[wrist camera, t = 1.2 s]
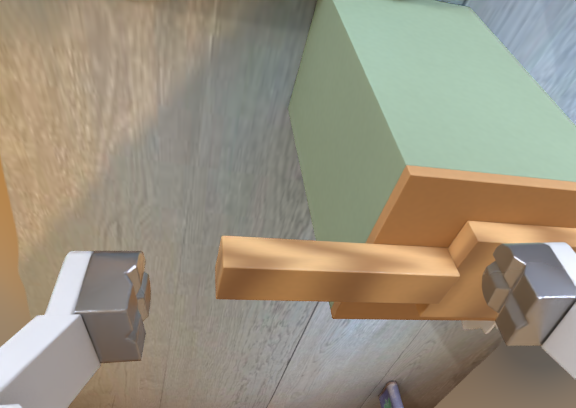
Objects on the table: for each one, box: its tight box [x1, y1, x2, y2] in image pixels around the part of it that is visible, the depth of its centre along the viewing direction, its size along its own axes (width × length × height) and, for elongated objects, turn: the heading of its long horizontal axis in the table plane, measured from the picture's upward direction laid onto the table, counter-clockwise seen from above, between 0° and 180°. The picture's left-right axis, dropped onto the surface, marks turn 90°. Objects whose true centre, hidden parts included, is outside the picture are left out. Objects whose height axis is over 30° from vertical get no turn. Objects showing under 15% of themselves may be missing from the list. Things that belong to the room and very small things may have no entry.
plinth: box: [288, 0, 576, 321], centre depth 40 cm, size 15×14×26 cm
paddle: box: [215, 221, 576, 318], centre depth 29 cm, size 23×8×2 cm, turn 77°
